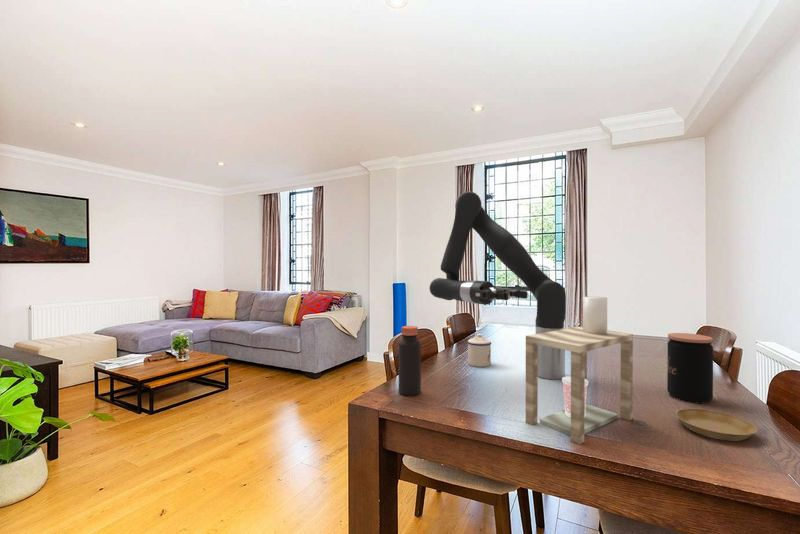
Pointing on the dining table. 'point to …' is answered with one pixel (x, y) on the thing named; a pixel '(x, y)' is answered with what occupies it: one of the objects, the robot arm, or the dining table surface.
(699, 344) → the coffee jar
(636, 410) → the dining table surface
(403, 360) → the bottle
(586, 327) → the candle
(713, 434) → the plant saucer
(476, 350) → the beige lidded canister
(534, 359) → the stand
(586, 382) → the beverage cup
